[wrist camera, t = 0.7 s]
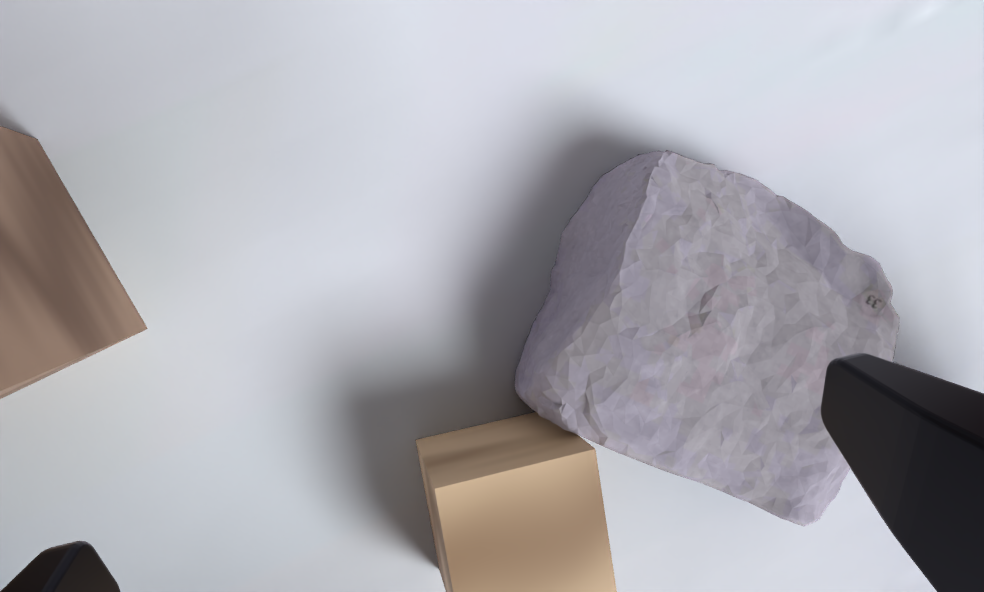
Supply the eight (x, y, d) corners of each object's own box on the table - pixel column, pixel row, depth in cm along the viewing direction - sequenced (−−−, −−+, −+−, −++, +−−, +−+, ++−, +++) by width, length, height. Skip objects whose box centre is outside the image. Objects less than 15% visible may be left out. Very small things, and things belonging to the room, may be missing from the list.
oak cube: (565, 532, 23) (618, 600, 19) (438, 567, 22) (463, 647, 18) (545, 408, 23) (595, 448, 18) (415, 439, 22) (434, 488, 17)
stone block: (577, 148, 24) (485, 413, 22) (651, 99, 20) (544, 425, 17) (823, 276, 27) (763, 517, 25) (935, 259, 23) (874, 550, 21)
